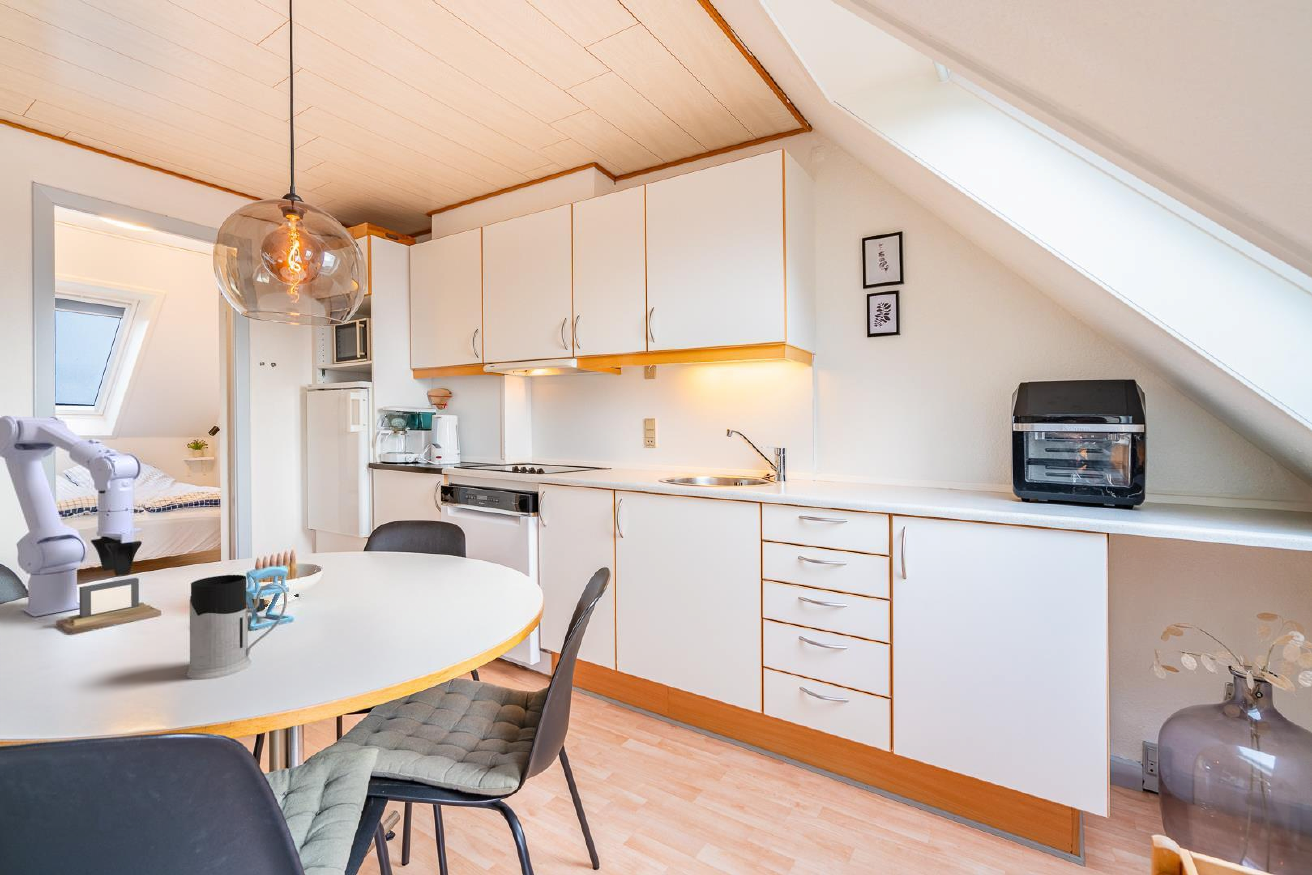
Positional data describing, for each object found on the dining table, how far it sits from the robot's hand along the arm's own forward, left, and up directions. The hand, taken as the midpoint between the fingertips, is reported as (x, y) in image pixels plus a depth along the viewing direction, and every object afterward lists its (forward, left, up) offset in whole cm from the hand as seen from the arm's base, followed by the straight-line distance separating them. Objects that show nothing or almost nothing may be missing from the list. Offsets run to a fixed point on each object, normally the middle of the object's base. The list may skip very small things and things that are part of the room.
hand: (116, 572), depth 125 cm
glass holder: (+54, +1, -10) cm, 55 cm away
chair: (+33, +15, -10) cm, 37 cm away
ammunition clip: (+22, +22, -10) cm, 32 cm away
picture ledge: (+4, -2, -9) cm, 10 cm away
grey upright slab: (+4, -2, -8) cm, 9 cm away
